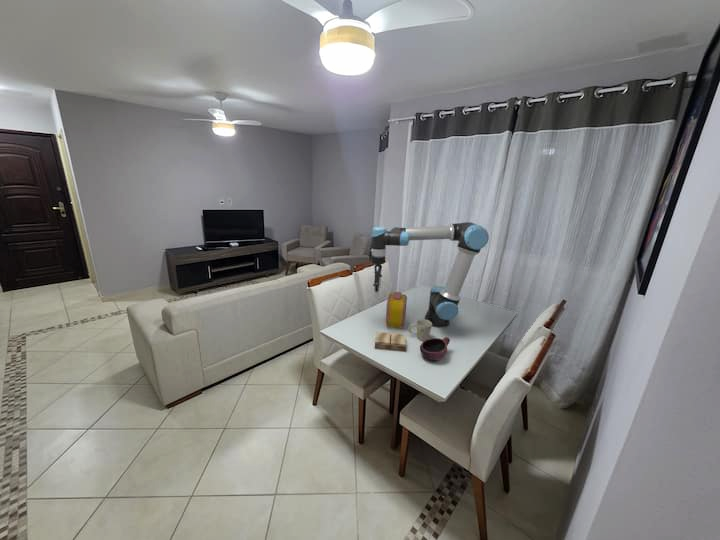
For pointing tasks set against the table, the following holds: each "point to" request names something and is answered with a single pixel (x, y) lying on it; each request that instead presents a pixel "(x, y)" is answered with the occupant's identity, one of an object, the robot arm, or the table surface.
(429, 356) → the bowl
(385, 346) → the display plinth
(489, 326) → the table surface
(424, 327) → the mug
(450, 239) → the robot arm
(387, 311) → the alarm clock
